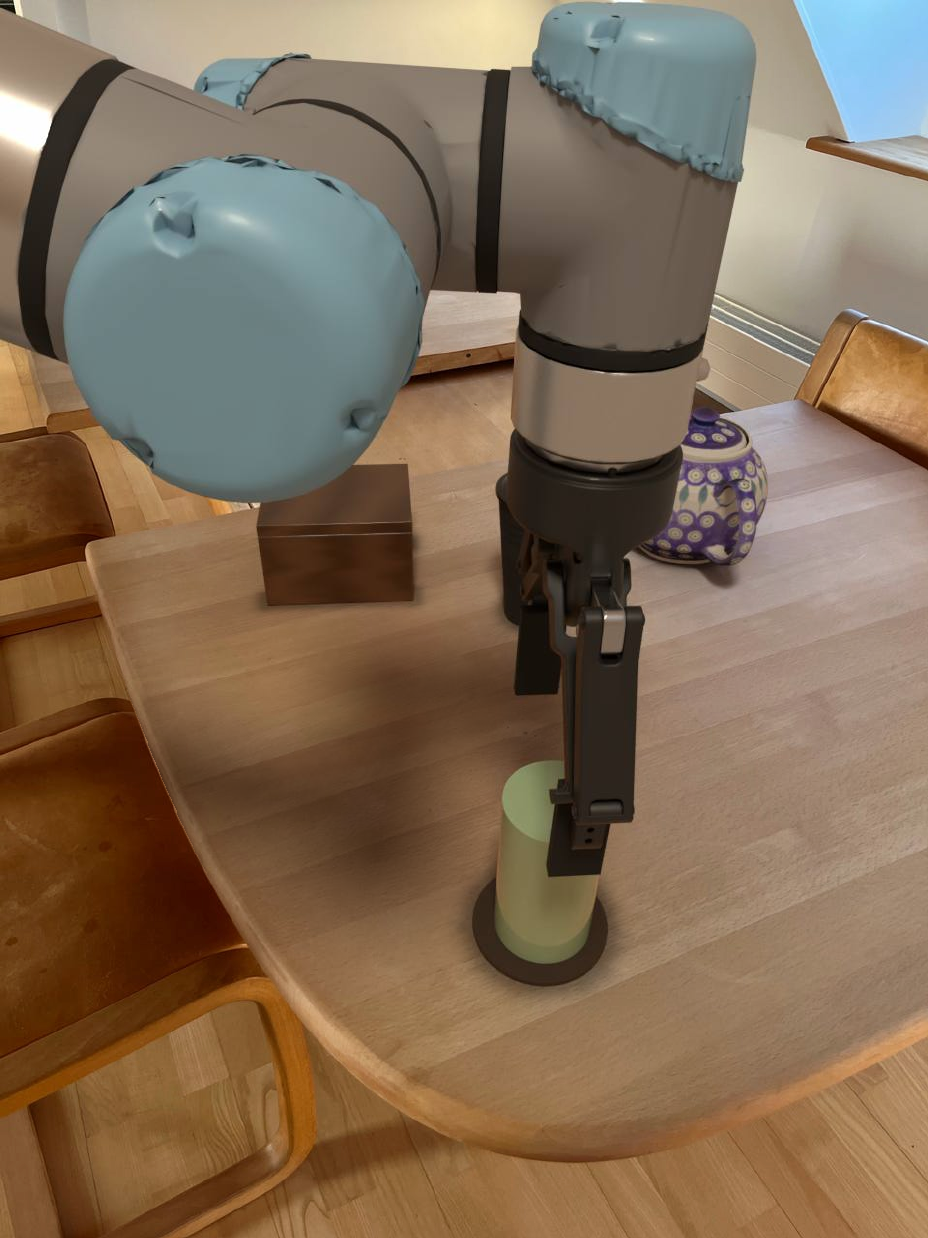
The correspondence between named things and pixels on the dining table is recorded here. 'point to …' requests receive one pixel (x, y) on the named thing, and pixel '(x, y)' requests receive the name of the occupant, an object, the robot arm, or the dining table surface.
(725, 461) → the teapot
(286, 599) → the walnut chest
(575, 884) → the canister
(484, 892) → the coaster
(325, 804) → the dining table surface
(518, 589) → the drinking cup
